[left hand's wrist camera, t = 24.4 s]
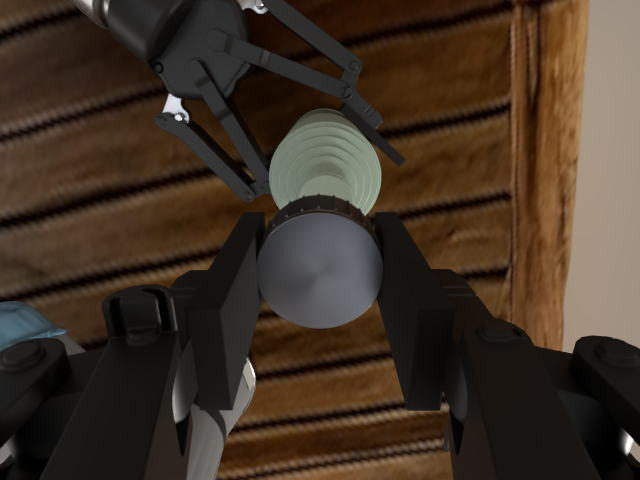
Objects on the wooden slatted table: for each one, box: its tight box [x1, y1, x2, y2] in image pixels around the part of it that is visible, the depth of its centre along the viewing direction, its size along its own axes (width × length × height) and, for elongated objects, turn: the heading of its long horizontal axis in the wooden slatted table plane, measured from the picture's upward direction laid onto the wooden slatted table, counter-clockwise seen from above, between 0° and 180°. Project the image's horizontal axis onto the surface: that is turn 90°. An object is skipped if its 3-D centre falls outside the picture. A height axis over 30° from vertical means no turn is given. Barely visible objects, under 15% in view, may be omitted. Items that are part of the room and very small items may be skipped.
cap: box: [256, 193, 383, 328], centre depth 13 cm, size 4×4×2 cm
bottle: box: [269, 108, 381, 216], centre depth 28 cm, size 7×7×20 cm
